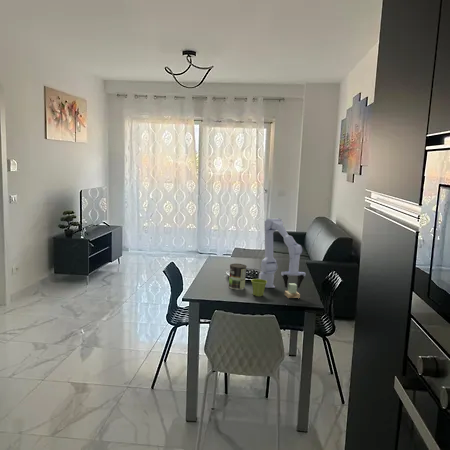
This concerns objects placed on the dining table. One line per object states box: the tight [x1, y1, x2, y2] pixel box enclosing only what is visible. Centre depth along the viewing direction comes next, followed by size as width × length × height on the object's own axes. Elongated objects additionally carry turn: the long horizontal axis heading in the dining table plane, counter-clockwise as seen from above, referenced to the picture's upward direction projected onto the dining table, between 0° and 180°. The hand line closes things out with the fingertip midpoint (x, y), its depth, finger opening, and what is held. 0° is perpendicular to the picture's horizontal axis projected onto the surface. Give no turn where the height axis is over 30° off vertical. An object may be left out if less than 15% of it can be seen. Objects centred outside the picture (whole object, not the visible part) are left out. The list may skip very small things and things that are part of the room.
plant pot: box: [250, 278, 267, 297], centre depth 254 cm, size 9×9×9 cm
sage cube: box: [287, 282, 298, 293], centre depth 256 cm, size 4×4×5 cm
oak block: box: [284, 290, 301, 299], centre depth 256 cm, size 7×7×3 cm
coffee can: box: [228, 263, 247, 291], centre depth 267 cm, size 10×10×14 cm
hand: (292, 287), depth 256 cm, fingers open, 7 cm apart
